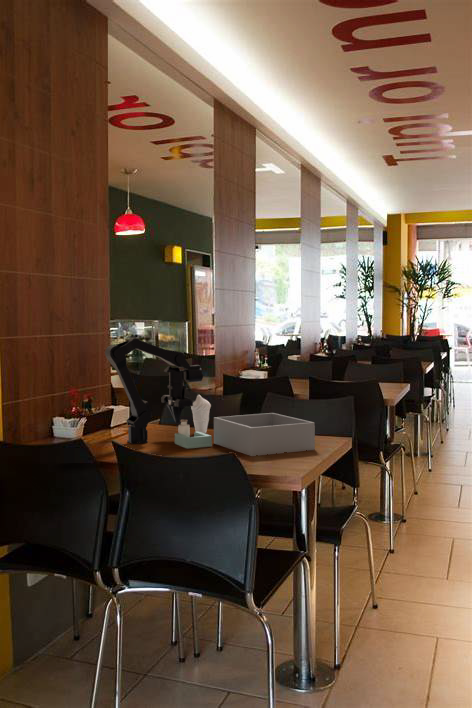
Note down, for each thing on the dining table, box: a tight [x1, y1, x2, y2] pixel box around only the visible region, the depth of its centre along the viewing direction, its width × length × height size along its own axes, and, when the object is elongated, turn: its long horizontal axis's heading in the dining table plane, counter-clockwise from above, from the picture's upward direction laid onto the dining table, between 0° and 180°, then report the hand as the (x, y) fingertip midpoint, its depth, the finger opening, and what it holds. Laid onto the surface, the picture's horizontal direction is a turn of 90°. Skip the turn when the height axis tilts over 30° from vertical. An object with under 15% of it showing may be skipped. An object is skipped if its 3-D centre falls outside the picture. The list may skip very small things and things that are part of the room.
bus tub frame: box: [213, 412, 316, 457], centre depth 269 cm, size 26×30×10 cm
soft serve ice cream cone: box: [190, 394, 212, 434], centre depth 301 cm, size 8×8×16 cm
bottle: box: [177, 419, 191, 437], centre depth 281 cm, size 4×4×8 cm
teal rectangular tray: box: [174, 431, 213, 449], centre depth 273 cm, size 10×12×4 cm
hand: (176, 422), depth 287 cm, fingers closed
